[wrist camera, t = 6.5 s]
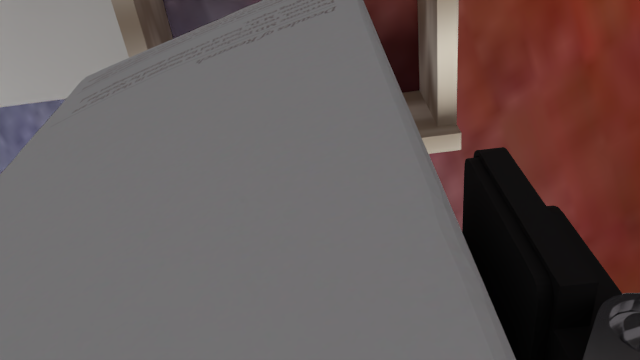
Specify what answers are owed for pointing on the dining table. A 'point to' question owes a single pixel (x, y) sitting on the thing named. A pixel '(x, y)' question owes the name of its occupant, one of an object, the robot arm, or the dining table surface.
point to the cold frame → (425, 105)
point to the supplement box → (239, 207)
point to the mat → (54, 47)
